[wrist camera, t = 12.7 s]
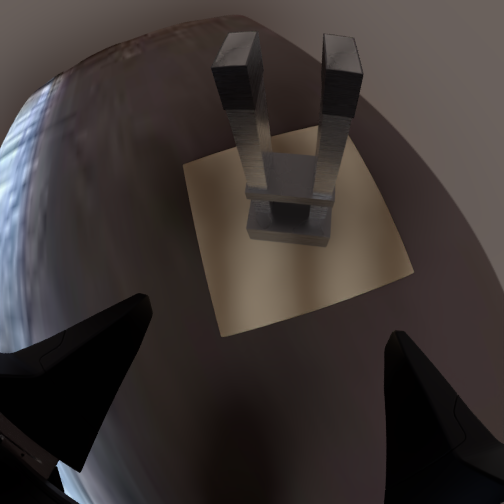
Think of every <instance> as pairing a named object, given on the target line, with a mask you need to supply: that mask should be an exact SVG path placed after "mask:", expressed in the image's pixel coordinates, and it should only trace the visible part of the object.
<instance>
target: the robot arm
mask: <svg viewBox="0 0 504 504" xmlns="http://www.w3.org/2000/svg"><path fill="white" fill-rule="evenodd" d="M152 314H153V311H152V307H151V303H150V299H149V297H148V295H145V294H141V293H138V294H135V295H133V296H131V297H129V298H127V299H125V300H123V301H121V302H119V303H117V304H115V305H113V306H111V307H109V308H107V309H105V310H103V311H101V312H99V313H97V314H95V315H93V316H91V317H90V318H88V319H86V320H84V321H82V322H80V323H78V324H76V325H74V326H72V327H70V328H68V329H66V330H64V331H62V332H60V333H58V334H56V335H54V336H52V337H50V338H48V339H45V340H43V341H41V342H39V343H36V344H34V345H31V346H29V347H27V348H24V349H22V350H19V351H17V352H14V353H0V504H79V503H78V502H76V501H75V500H73V499H72V498H70V497H69V496H68V495H66V494H65V493H64V492H65V491H64V488H63V485H62V482H61V478H60V475H59V471H58V468H57V466H56V465H57V463H58V461H59V460H60V461H62V462H63V463H65V464H66V465H68V466H69V467H71V468H73V469H74V470H76V471H77V472H79V473H80V472H81V471H82V469H83V466H84V464H85V461H86V459H87V457H88V454H89V452H90V450H91V447H92V445H93V443H94V441H95V438H96V436H97V434H98V431H99V429H100V427H101V425H102V423H103V421H104V418H105V416H106V414H107V412H108V410H109V408H110V406H111V404H112V402H113V399H114V397H115V395H116V393H117V391H118V389H119V387H120V385H121V383H122V381H123V379H124V377H125V375H126V373H127V371H128V369H129V367H130V365H131V364H132V362H133V360H134V358H135V356H136V354H137V352H138V350H139V348H140V345H141V343H142V341H143V338H144V336H145V333H146V331H147V328H148V326H149V323H150V321H151V318H152ZM384 396H385V412H386V485H385V489H386V490H385V498H384V504H504V444H503V443H501V442H499V441H498V440H497V439H496V438H495V437H494V436H493V435H492V434H491V432H490V431H489V430H488V429H487V428H486V427H485V426H484V425H483V424H482V423H481V421H480V420H479V419H478V418H477V417H476V416H475V415H474V414H473V413H472V411H471V410H470V409H469V408H468V407H467V405H466V404H465V403H464V402H463V400H462V399H461V398H460V396H459V395H457V393H456V392H455V390H454V389H453V388H452V387H451V385H450V384H449V383H448V382H447V380H446V379H445V378H444V377H443V375H442V374H441V373H440V372H439V371H438V369H437V368H436V367H435V366H434V365H433V363H432V362H431V361H430V360H429V359H428V358H427V356H426V355H425V354H424V353H423V352H422V351H421V349H420V348H419V347H418V346H417V345H416V344H415V343H414V341H413V340H412V339H411V338H410V337H409V336H408V335H407V334H406V332H404V331H398V330H395V331H393V332H392V334H391V336H390V338H389V340H388V342H387V344H386V346H385V351H384Z"/></svg>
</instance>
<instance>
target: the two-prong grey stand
mask: <svg viewBox="0 0 504 504" xmlns="http://www.w3.org/2000/svg"><path fill="white" fill-rule="evenodd" d="M211 70H212V73H213V76H214V79H215V83H216V86H217V89H218V92H219V95H220V99H221V102H222V105H223V108H224V110H226V112H227V115H228V119H229V122H230V126H231V129H232V132H233V136H234V139H235V143H236V146H237V150H238V153H239V156H240V160H241V163H242V167H243V170H244V174H245V177H246V181H247V183H246V188H245V195H246V198H247V199H250V200H251V203H250V208H249V214H248V220H247V226H246V230H247V232H248V235H249V237H250V239H254V240H263V241H273V242H282V243H291V244H300V245H309V246H318V247H326V246H327V244H328V242H329V239H330V233H331V214H332V208H333V206H334V203H335V183H336V179H337V175H338V172H339V168H340V164H341V160H342V157H343V153H344V149H345V145H346V141H347V137H348V133H349V129H350V124H351V120H352V118H354V115H355V111H356V106H357V102H358V98H359V93H360V88H361V84H362V79H363V70H362V66H361V62H360V58H359V54H358V50H357V46H356V43H355V39H354V38H353V37H346V36H338V35H331V34H323V52H322V71H321V80H322V89H321V102H320V113H319V123H318V133H317V143H316V152H315V156H311V155H301V154H289V153H276V152H272V144H271V136H270V127H269V119H268V111H267V103H266V95H265V87H264V80H263V71H264V69H263V62H262V55H261V48H260V41H259V34H258V31H247V32H231V33H228V34H227V36H226V38H225V40H224V42H223V44H222V46H221V48H220V50H219V52H218V54H217V56H216V58H215V60H214V62H213V64H212V66H211Z"/></svg>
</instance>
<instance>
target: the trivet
mask: <svg viewBox="0 0 504 504" xmlns="http://www.w3.org/2000/svg"><path fill="white" fill-rule="evenodd" d="M317 133H318V126H314V127H309V128H305V129H300V130H296V131H292V132H288V133H284V134H280V135H276V136H272V137H271V144H272V152H276V153H289V154H301V155H311V156H315V152H316V143H317ZM183 169H184V174H185V180H186V185H187V190H188V195H189V201H190V206H191V211H192V215H193V220H194V225H195V230H196V234H197V239H198V244H199V248H200V253H201V257H202V261H203V266H204V270H205V274H206V278H207V283H208V287H209V291H210V295H211V299H212V303H213V307H214V311H215V315H216V319H217V322H218V326H219V330H220V334H221V337H226V336H230V335H234V334H238V333H241V332H245V331H249V330H252V329H256V328H259V327H263V326H266V325H270V324H273V323H277V322H280V321H283V320H287V319H290V318H293V317H296V316H299V315H303V314H306V313H309V312H312V311H315V310H318V309H321V308H324V307H327V306H330V305H333V304H336V303H338V302H341V301H344V300H347V299H350V298H352V297H355V296H358V295H361V294H363V293H366V292H369V291H371V290H374V289H376V288H379V287H382V286H384V285H387V284H389V283H392V282H394V281H397V280H399V279H401V278H404V277H406V276H408V275H410V274H412V273H414V271H413V268H412V265H411V263H410V260H409V257H408V255H407V252H406V250H405V247H404V245H403V242H402V240H401V237H400V235H399V233H398V230H397V228H396V226H395V223H394V221H393V219H392V217H391V214H390V212H389V210H388V208H387V206H386V204H385V202H384V200H383V198H382V195H381V193H380V191H379V189H378V187H377V186H376V184H375V182H374V180H373V178H372V176H371V174H370V172H369V170H368V168H367V167H366V165H365V163H364V161H363V159H362V158H361V156H360V154H359V152H358V151H357V149H356V147H355V145H354V144H353V142H352V140H351V139H350V137H349V135H348V137H347V141H346V145H345V149H344V153H343V157H342V160H341V164H340V168H339V172H338V175H337V179H336V183H335V203H334V206H333V208H332V214H331V233H330V239H329V242H328V244H327V246H326V247H318V246H309V245H300V244H291V243H282V242H273V241H263V240H254V239H250V237H249V235H248V232H247V230H246V226H247V220H248V214H249V208H250V203H251V200H250V199H247V198H246V195H245V188H246V183H247V181H246V177H245V174H244V170H243V167H242V163H241V160H240V156H239V153H238V150H237V147H234V148H231V149H227V150H224V151H221V152H218V153H215V154H212V155H209V156H206V157H203V158H200V159H198V160H195V161H192V162H189V163H186V164H184V165H183Z"/></svg>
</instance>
